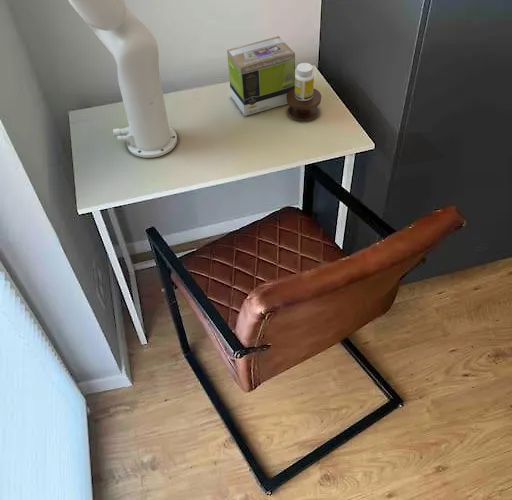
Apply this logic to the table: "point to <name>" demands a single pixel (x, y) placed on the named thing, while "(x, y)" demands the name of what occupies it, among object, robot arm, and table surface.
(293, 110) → the stand
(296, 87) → the supplement bottle
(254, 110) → the tea box
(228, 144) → the table surface
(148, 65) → the robot arm
